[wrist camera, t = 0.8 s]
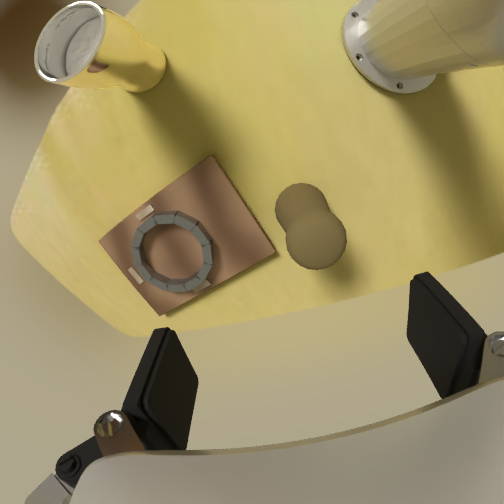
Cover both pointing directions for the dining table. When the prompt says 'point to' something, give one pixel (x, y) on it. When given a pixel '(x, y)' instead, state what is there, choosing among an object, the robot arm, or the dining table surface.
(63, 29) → the beer glass
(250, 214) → the board
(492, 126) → the dining table surface
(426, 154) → the dining table surface
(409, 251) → the dining table surface
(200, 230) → the hub ring
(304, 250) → the cork
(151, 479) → the robot arm
